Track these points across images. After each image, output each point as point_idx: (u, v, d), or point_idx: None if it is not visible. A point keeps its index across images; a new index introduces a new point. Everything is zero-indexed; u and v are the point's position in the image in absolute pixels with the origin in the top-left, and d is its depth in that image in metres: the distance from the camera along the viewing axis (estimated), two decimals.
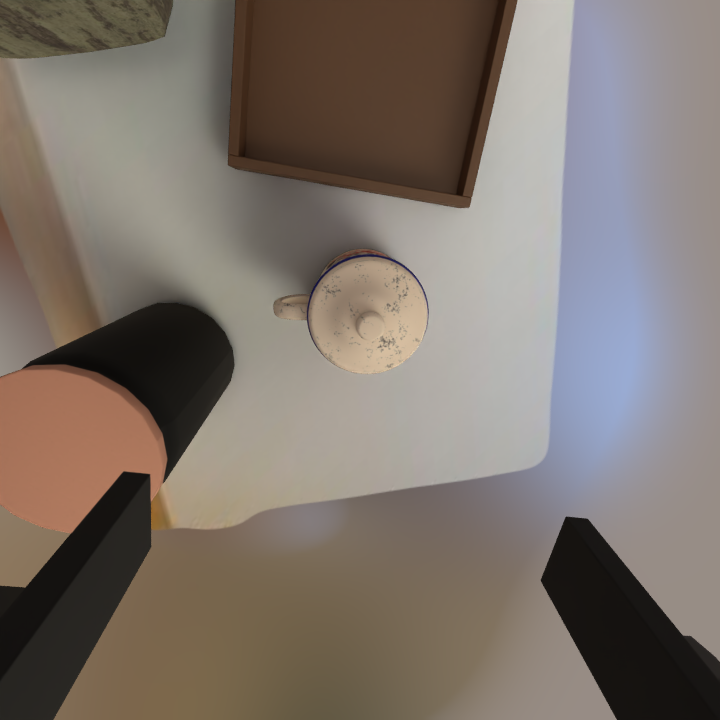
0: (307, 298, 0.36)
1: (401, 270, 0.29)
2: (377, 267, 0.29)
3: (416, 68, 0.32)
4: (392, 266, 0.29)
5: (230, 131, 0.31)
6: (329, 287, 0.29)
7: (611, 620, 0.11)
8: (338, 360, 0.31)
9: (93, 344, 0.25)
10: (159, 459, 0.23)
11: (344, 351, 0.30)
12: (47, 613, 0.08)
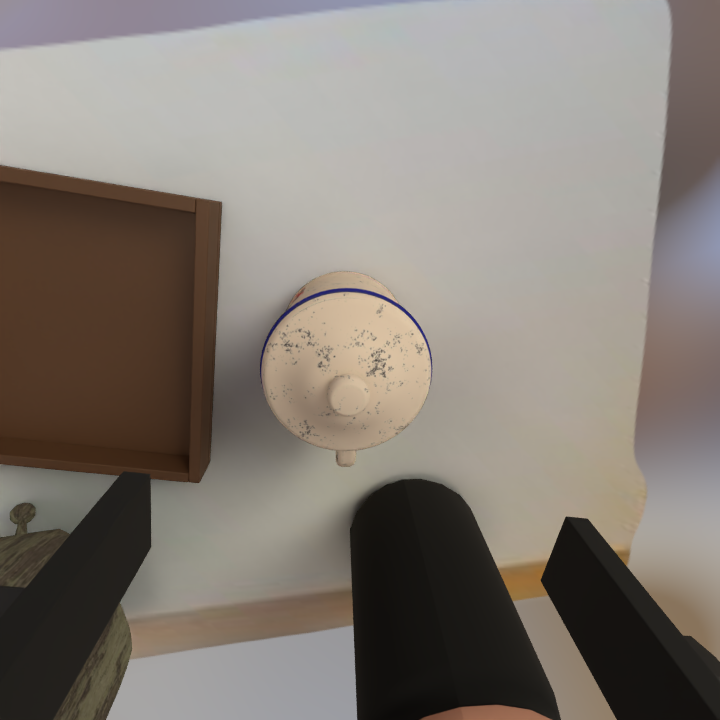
0: None
1: (275, 337, 0.20)
2: (272, 371, 0.20)
3: (67, 275, 0.27)
4: (270, 350, 0.20)
5: (165, 479, 0.30)
6: (302, 430, 0.22)
7: (611, 620, 0.11)
8: (406, 418, 0.22)
9: None
10: None
11: (391, 414, 0.21)
12: (47, 613, 0.08)
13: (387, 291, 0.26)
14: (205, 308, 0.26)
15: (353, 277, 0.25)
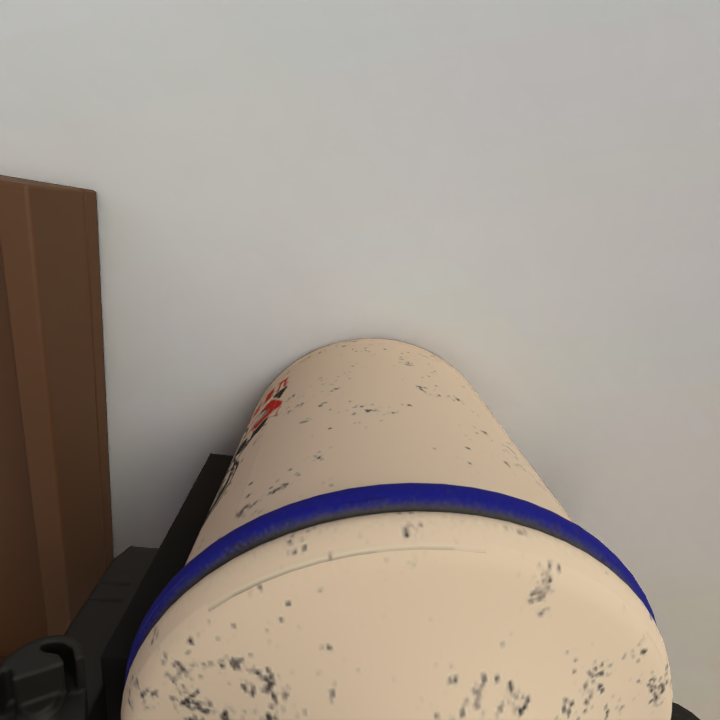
0: None
1: (150, 670, 0.06)
2: None
3: None
4: (139, 700, 0.06)
5: None
6: None
7: None
8: None
9: None
10: None
11: None
12: None
13: (472, 393, 0.12)
14: (52, 432, 0.11)
15: (398, 367, 0.11)
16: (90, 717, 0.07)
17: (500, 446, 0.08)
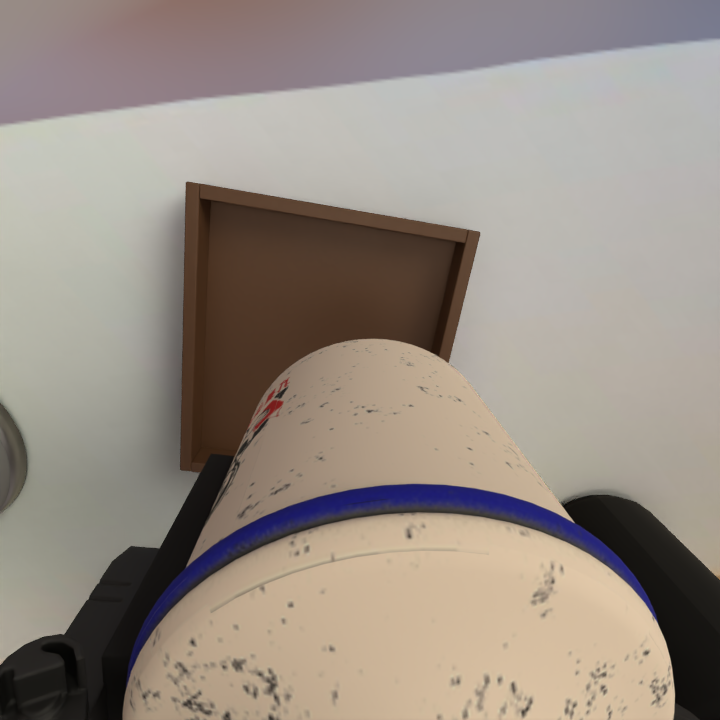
0: None
1: (152, 671, 0.06)
2: None
3: (316, 299, 0.28)
4: (140, 702, 0.06)
5: None
6: None
7: None
8: None
9: None
10: None
11: None
12: (186, 564, 0.09)
13: (473, 393, 0.12)
14: (455, 332, 0.27)
15: (399, 367, 0.11)
16: (91, 717, 0.07)
17: (502, 447, 0.08)
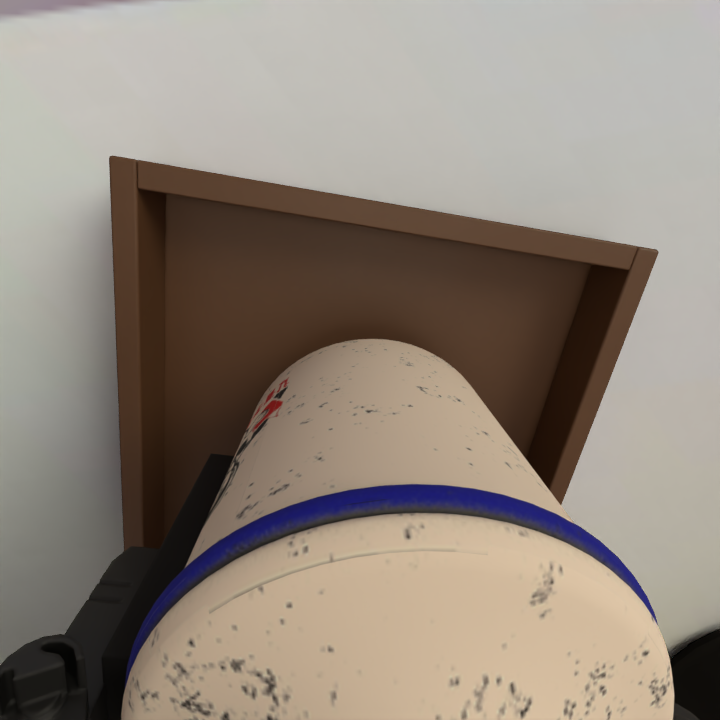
0: None
1: (151, 672, 0.06)
2: None
3: None
4: (139, 702, 0.06)
5: None
6: None
7: None
8: None
9: None
10: None
11: None
12: (185, 564, 0.09)
13: (472, 394, 0.12)
14: (593, 419, 0.16)
15: (398, 368, 0.11)
16: (91, 717, 0.07)
17: (501, 447, 0.08)
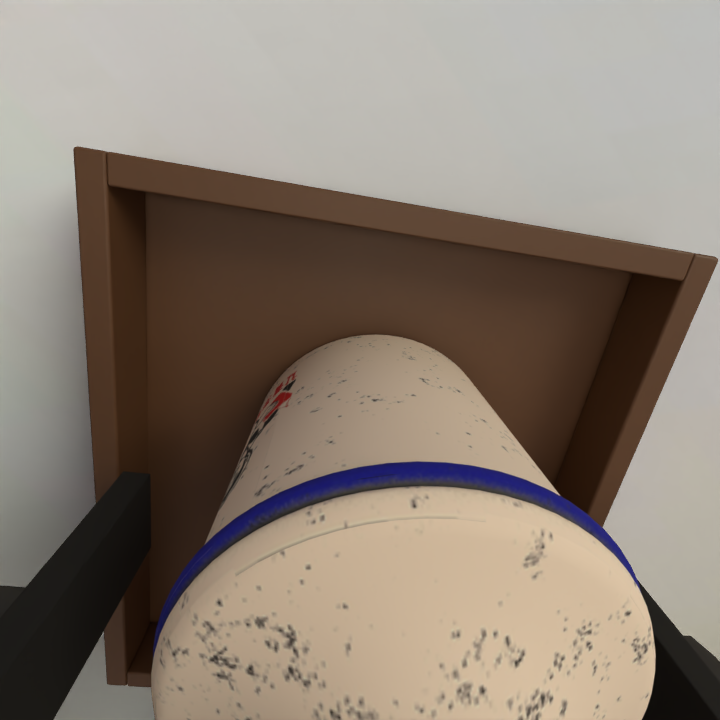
0: None
1: (182, 630, 0.06)
2: (178, 718, 0.07)
3: None
4: (170, 660, 0.06)
5: None
6: None
7: None
8: None
9: None
10: None
11: None
12: (47, 613, 0.08)
13: (471, 386, 0.12)
14: (634, 450, 0.14)
15: (401, 361, 0.11)
16: None
17: (498, 433, 0.09)
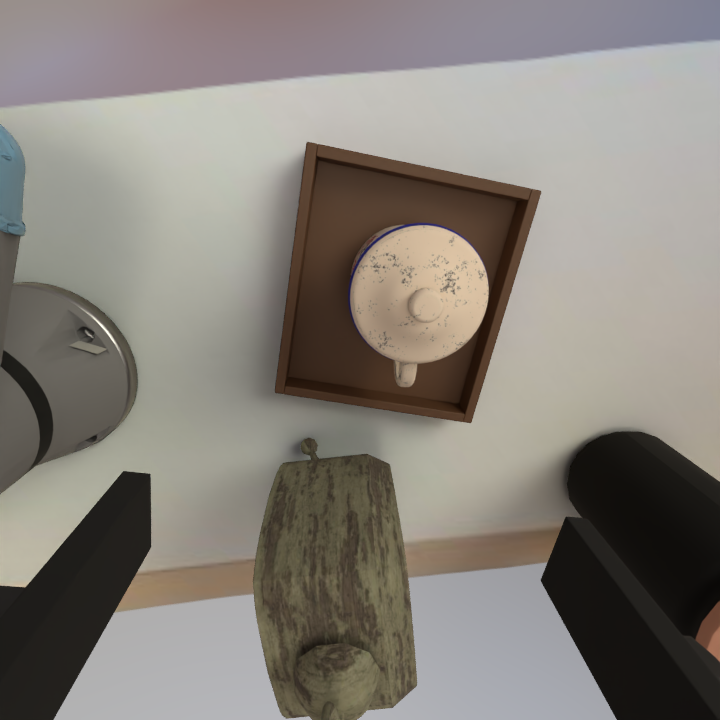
0: None
1: (366, 260, 0.25)
2: (361, 289, 0.25)
3: None
4: (361, 271, 0.25)
5: (445, 418, 0.36)
6: (380, 342, 0.26)
7: (611, 620, 0.11)
8: (465, 335, 0.26)
9: (661, 581, 0.29)
10: None
11: (455, 330, 0.26)
12: (47, 613, 0.08)
13: None
14: (515, 276, 0.33)
15: None
16: None
17: None
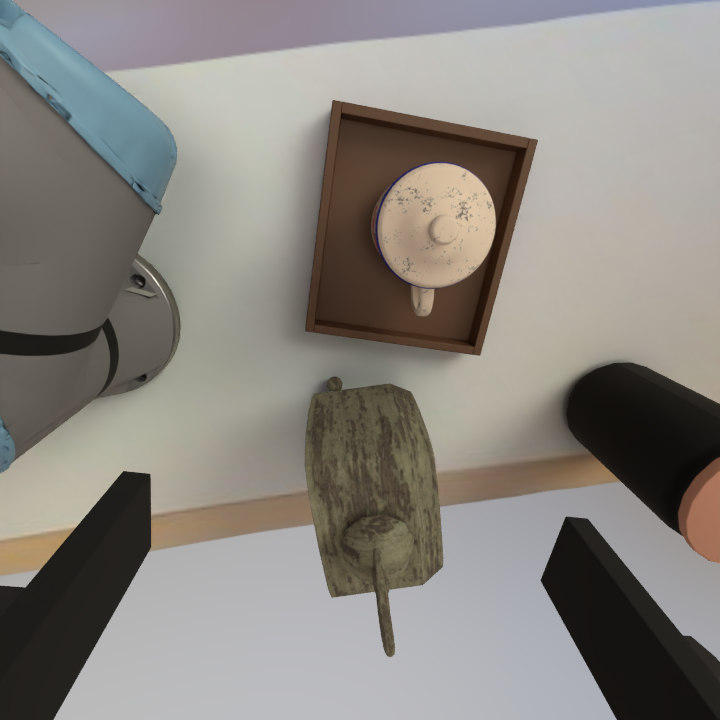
0: None
1: (391, 195, 0.29)
2: (387, 220, 0.30)
3: None
4: (387, 204, 0.29)
5: (457, 351, 0.41)
6: (404, 267, 0.31)
7: (611, 620, 0.11)
8: (477, 260, 0.31)
9: (649, 472, 0.33)
10: None
11: (468, 254, 0.30)
12: (47, 613, 0.08)
13: None
14: (516, 218, 0.37)
15: None
16: None
17: None
